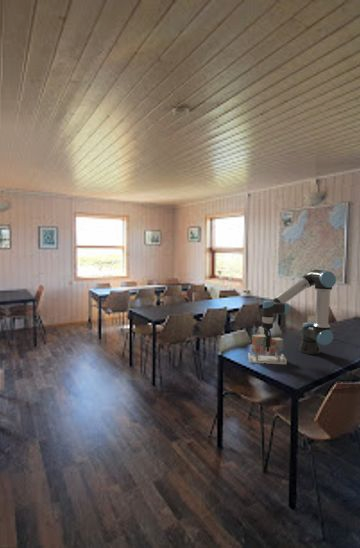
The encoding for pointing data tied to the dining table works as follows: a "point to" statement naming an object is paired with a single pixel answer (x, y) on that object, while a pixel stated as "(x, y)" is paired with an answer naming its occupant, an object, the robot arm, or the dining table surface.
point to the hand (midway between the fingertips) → (266, 353)
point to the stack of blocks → (260, 344)
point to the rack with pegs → (267, 359)
